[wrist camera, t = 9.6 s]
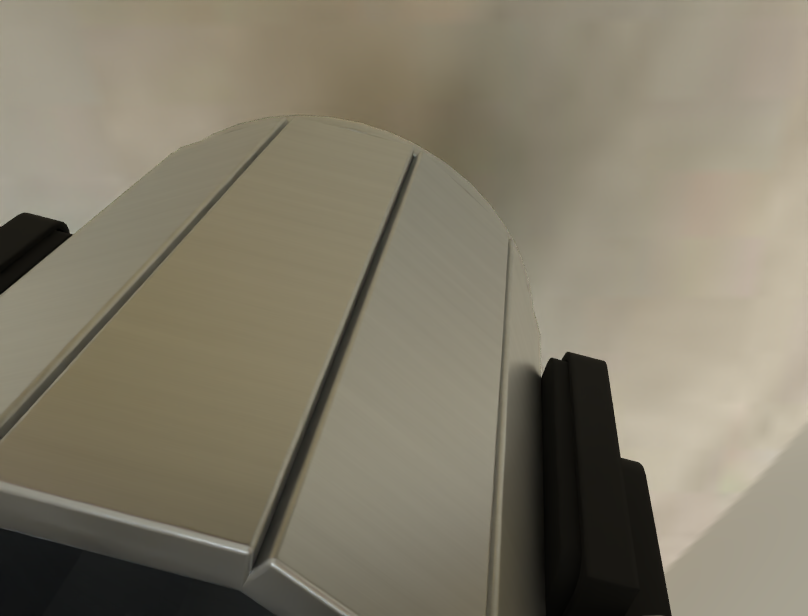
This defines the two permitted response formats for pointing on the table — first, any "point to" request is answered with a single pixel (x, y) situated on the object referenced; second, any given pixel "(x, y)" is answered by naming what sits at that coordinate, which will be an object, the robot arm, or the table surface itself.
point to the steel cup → (276, 392)
